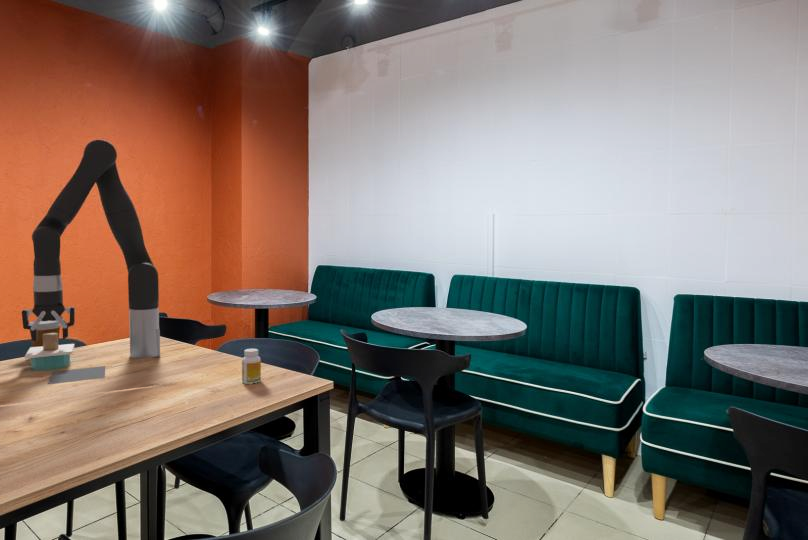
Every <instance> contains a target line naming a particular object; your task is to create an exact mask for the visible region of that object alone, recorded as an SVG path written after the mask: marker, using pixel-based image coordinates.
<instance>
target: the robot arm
mask: <svg viewBox="0 0 808 540" xmlns="http://www.w3.org/2000/svg"><path fill="white" fill-rule="evenodd" d="M117 159H118V153H117V150H116V147H115V146H114V145H113V144H112V143H111V142H110V141H107V140H104V139H94V140H92V141H89V142H88V143H87V144H86V145H85V147H84V149H83V154H82V158H81V160H80V162H79V165H78V166H77V168H76V170H75V172H74V173H73V175H72V176H71V178H70V179H69V180H68V182H67V183H66V185H65V186H64V187H63V188H62V189H61V191H60V193H59V194H58V195H57V197H56V198H55V200H54V201H53V203H52V204H51V205H50V207H49V209H48V211H47V213H46V214H45V216H44V217H43V218H42V220H41V221H40V222H39V223H38V224H37V226H36V228H35V229H34V230H33V232H32V234H31V240H32V243H33V244H32V245H33V254H34V255H33V256H34V260H33V268H32V269H33V279H32V280H33V281H32V291H33V308H32V309H22V310H21V317H22V318H21V320H22V328H23V329H24V330H29V331H30V330H31V334H30V338H31V341H32V340H34V342H37V341H38V337H37V329H36V327H37V326H38V324H39V323H40V321H55V320H57V321H58V322H59V323H60V324H61V327H62V329H61V330H62V340H64V341H65V340H66V339H67V338H68V337H69V328H70V327H73V326H75V321H76V320H75V319H76V318H75V317H76V316H75V315H76V314H75V313H76V312H75V311H76V308H75V306H70V307H65V305H64V296H63V295H64V294H63V278H62V272H61V271H62V270H61V269H62V267H61V259H60V258H61V257H60V256H61V237H62V235H63V233H64V232H65V230H66V229H67V227H68V226H69V225H70V224H71V223H72V222H73V221H74V219H75V217H77V215H78V213H79V211H80V210H81V208H82V207H83V205H84V204H85V201H86V200H87V198H88V196H89V194H90V192H91V191H92V189H93V188H94V185H95V184H96V186H97V187H96V188H97V189H98V194H99V197H100V202H101V206H102V209H103V212H104V215H105V218H106V221H107V225H109V229H110V231H111V233H112V235H113V238H114V239H115V240H116V243H117V244H118V246H119V248H120V250H121V251H122V255H123V258H124V261H125V264H126V270H127V288H128V289H127V290H128V291H127V292H128V317H129V320H128V322H129V325H128V326H129V353H130V354H129V357H130V358H132V359H149V358H152V359H153V358H156V357H161V330H160V312H159V311H160V310H159V309H160V307H159V302H160V301H159V300H160V299H159V296H160V295H159V293H160V291H159V287H160V286H159V272H158V270H157V267H155V265H154V263H153V261H152V259H151V256H150V255H149V252H148V251H147V248H146V246H145V241H144V234H143V230H142V226H141V222H140V220H139V219H140V218H139V216H138V213H137V210H136V208H135V206H134V203H133V201H132V199H131V197H130V196H129V194H128V192H127V190H126V189H125V187H124V185H123V183H122V181H121V178H120V175H119V172H118V171H119V170H118V167H117V162H116V161H117ZM65 312H66V314H68V315H69V321H68V322H67V321H66V320H65V319H64V317H63V316H62V315H63V313H65ZM31 314H34V315H35V316H36V317H37V318H36V319H35V320H34V321H35V322H34V324H33V325H29V323H30V322H29V321H30V320H29V317H30V316H31Z"/></svg>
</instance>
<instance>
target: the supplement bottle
mask: <svg viewBox="0 0 808 540" xmlns="http://www.w3.org/2000/svg"><path fill="white" fill-rule="evenodd" d="M243 351H244V352H243V353H244V357H242V359H241V380H242V383H243V384H245V385H254V384H253V383H256V384H258V383H260V382H261V381H262V376H261V375H262V369H261V368H262V365H261V363H262V360H261V359H262V358H261V357H260V356H259V349H257V348H246V349H245V350H243ZM257 382H258V383H257Z"/></svg>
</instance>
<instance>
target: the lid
mask: <svg viewBox="0 0 808 540" xmlns="http://www.w3.org/2000/svg"><path fill="white" fill-rule="evenodd" d="M74 349H75V343H67V344H59V340H58V333H46V334H43V346H41V347H33V346H30V347H29V349H28V350H27V351H26V354H25V355H24V359H31V358H35V357H46V356H56V355H67V354H70V355H72V354H73V352H74Z"/></svg>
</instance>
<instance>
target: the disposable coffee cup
mask: <svg viewBox="0 0 808 540" xmlns="http://www.w3.org/2000/svg"><path fill="white" fill-rule="evenodd" d="M35 321H36V320H32V321H30V322H29V325H33V324H34V322H35ZM61 327H62V325H61V324H60V323H59V322H58V321H57V320H55V321H40V323H39V324H38V326H37V327H36V329H37V337H38V341H37V342H34V340H32V339H31V343H32V347H41V346H43V334H46V333H58V341H59V340H60V338H59V337H60V332H61V331H60V329H61ZM29 334H30V335H31V330H29Z"/></svg>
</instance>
